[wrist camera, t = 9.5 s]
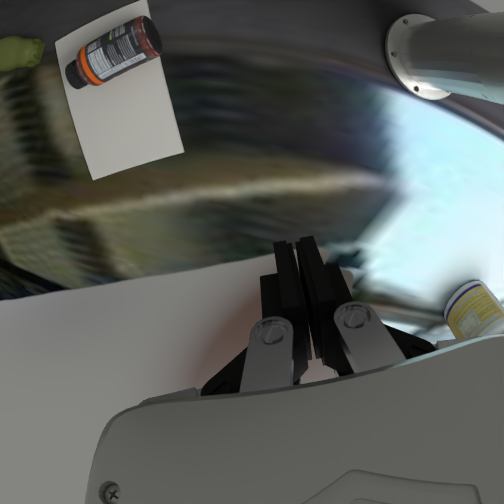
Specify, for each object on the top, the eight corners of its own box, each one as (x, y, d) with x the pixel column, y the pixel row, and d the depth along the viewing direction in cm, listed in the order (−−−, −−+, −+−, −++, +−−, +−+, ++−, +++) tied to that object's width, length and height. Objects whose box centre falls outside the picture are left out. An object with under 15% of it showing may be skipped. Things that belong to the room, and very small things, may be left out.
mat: (146, -2, 24) (145, -2, 24) (184, 151, 36) (183, 152, 36) (56, 42, 26) (54, 42, 25) (94, 179, 37) (92, 180, 37)
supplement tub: (432, 321, 54) (465, 382, 40) (460, 275, 48) (504, 335, 33) (466, 321, 55) (498, 375, 41) (492, 280, 49) (532, 332, 35)
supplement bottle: (166, 45, 29) (91, 82, 30) (148, 8, 24) (70, 50, 25) (161, 63, 26) (78, 104, 28) (139, 20, 21) (53, 70, 22)
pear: (-13, 37, 18) (38, 33, 22) (6, 37, 23) (54, 35, 26) (-21, 73, 21) (28, 72, 24) (-2, 70, 25) (45, 70, 29)
